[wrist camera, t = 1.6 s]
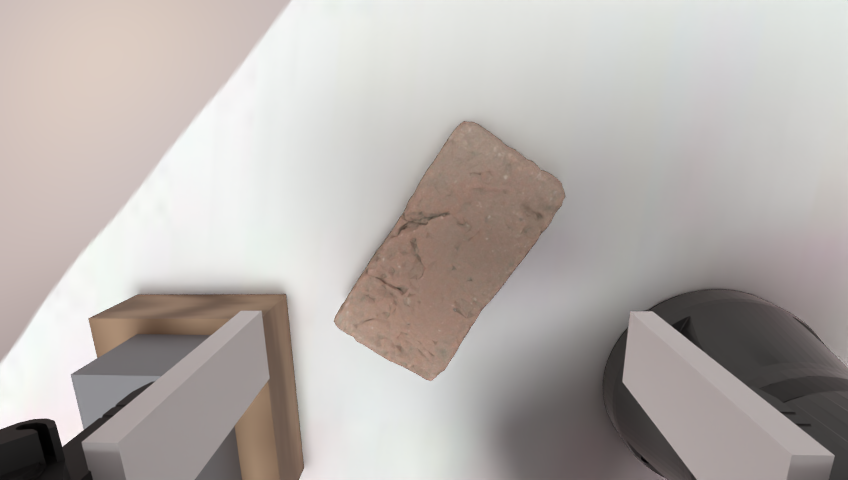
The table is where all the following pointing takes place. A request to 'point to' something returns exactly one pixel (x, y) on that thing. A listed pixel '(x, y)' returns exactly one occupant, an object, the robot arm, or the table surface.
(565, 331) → the table surface
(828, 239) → the table surface
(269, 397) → the tower base
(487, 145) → the brick
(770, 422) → the robot arm
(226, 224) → the table surface
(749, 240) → the table surface
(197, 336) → the tower top
